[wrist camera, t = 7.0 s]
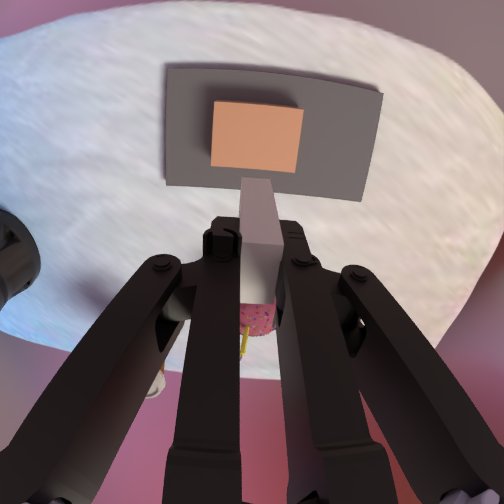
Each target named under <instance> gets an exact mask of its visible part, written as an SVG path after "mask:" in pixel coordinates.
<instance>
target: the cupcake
mask: <svg viewBox="0 0 504 504" xmlns="http://www.w3.org/2000/svg"><path fill="white" fill-rule="evenodd" d="M275 308H276V296H275V301H274V305H269V304H249V303H240V334H242V335H243V338H242V344H241V349H240V355H241V357H240V360H241V359H242V356H244V355H245V351H246V345H247V339H248V336H252V337H254V336H256V337H257V336H262V335H263V336H264V335H265V334H269V333H270V332H272V331H273V330H276V324H275V328H272V324H273V319H274V314H275Z"/></svg>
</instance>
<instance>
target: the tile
mask: <svg viewBox="0 0 504 504" xmlns="http://www.w3.org/2000/svg"><path fill="white" fill-rule="evenodd" d="M303 112H304V110H303V109H302V108H301V107H294V106H286V105H277V104H268V103H257V102H245V101H230V100H216V101H215V102H214V115H213V131H212V151H211V166H219V167H234V168H248V169H260V170H271V171H281V172H291V173H295V169H296V162H297V155H298V148H299V141H300V134H301V127H302V119H303Z"/></svg>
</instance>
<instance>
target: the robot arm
mask: <svg viewBox="0 0 504 504" xmlns="http://www.w3.org/2000/svg"><path fill="white" fill-rule="evenodd" d="M40 267H41V262H40V255H39V251H38V248H37V246H36V244H35V241H34V239H33V238H32V236H31V234H30V233H29V231H28V230H27V229H26V227H25V226H24V225H23V224H22V223H21V222H20V221H19V220H18V219H17V218H16V217H14V216H13V215H11V214H10V213H8V212H5V211H2V210H0V311H1V309H2V308H3V306H4V305H5V304H6V302H7V301H8V300H9V299H11V298H12V297H14V296H16V295H17V294H19V293H20V292H22V291H24V290H25V289H27V288H28V287H30V286H31V285H32V283H33V282H34V281H35V279H36V278H37V277H38V275H39V272H40ZM275 296H276V308H275V314H274V319H273V324H272V328H275V324H276V334H277V345H278V355H279V366H280V376H281V387H282V398H283V410H284V421H285V432H286V445H287V456H288V469H289V482H288V487H287V504H398V500H397V495H396V490H395V485H394V481H393V476H392V472H391V467H390V463H389V459H388V455H387V452H386V450H385V448H384V447H383V446H382V444H380V443H378V442H375V441H373V440H372V438H371V436H370V433H369V429H368V425H367V421H366V417H365V413H364V409H363V405H362V401H361V397H360V393H359V390H360V392H361V394H362V396H363V398H364V400H365V401H366V403H367V405H368V407H369V409H370V411H371V412H372V414H373V416H374V418H375V420H376V422H377V423H378V425H379V427H380V429H381V431H382V433H383V435H384V437H385V438H386V440H387V442H388V444H389V446H390V448H391V449H392V451H393V453H394V455H395V457H396V459H397V461H398V463H399V465H400V467H401V469H402V471H403V472H404V474H405V476H406V478H407V480H408V482H409V484H410V486H411V488H412V489H413V491H414V493H415V494H416V496H417V498H418V499H419V500H420V501H421V503H422V504H504V448H503V446H501V445H500V444H499V443H498V441H497V440H496V438H495V436H494V435H493V433H492V432H491V430H490V428H489V427H488V425H487V424H486V422H485V421H484V419H483V417H482V416H481V415H480V413H479V411H478V410H477V408H476V407H475V405H474V404H473V402H472V401H471V399H470V398H469V397H468V395H467V394H466V392H465V391H464V389H463V388H462V386H460V384H459V382H458V381H457V379H456V378H455V377H454V375H453V374H452V373H451V371H450V370H449V368H448V367H447V365H446V364H445V363H444V361H443V360H442V359H441V357H440V356H439V355H438V353H437V352H436V351H435V349H434V348H433V347H432V345H431V344H430V343H429V341H428V340H427V339H426V337H425V336H424V335H423V334H422V332H421V331H420V330H419V328H418V327H417V326H416V325H415V323H414V322H413V321H412V320H411V318H410V317H409V316H408V315H407V313H406V312H405V311H404V310H403V308H402V307H401V306H400V305H399V303H398V302H397V301H396V300H395V299H394V297H393V296H392V295H391V294H390V293H389V291H388V290H387V289H386V288H385V287H384V285H383V284H382V283H381V282H380V281H379V279H378V278H377V277H376V276H375V275H374V274H373V273H372V272H371V271H370V270H369V269H367V268H365V267H363V266H359V265H348V266H345V267H344V268H343V269H342V271H341V273H337V272H333V271H330V270H327V269H324V268H322V266H321V263H320V261H319V260H318V258H317V257H315V256H314V255H312V254H311V252H310V249H309V246H308V243H307V240H306V237H305V234H304V231H303V228H302V226H301V225H300V224H299V223H298V222H296V221H289V220H279V218H278V213H277V208H276V203H275V199H274V194H273V189H272V185H271V180H270V179H261V178H248V177H242V181H241V193H240V206H239V218H236V217H221V216H217V217H216V218H215V219H214V220H213V221H212V223H211V228H210V229H208V230H206V231H205V232H204V234H203V257H202V258H201V259H199V260H197V261H195V262H191V263H186V264H181V262H180V260H179V259H178V258H177V257H175V256H173V255H169V254H159V255H155V256H152V257H150V258H148V259H147V260H146V261H145V262H144V263H143V264H142V265H141V266H140V267H139V269H138V270H137V271H136V272H135V273H134V275H133V276H132V277H131V278H130V279H129V280H128V282H127V283H126V284H125V285H124V286H123V288H122V289H121V290H120V291H119V292H118V294H117V295H116V296H115V297H114V299H113V300H112V301H111V302H110V303H109V305H108V306H107V307H106V308H105V310H104V311H103V312H102V313H101V315H100V316H99V317H98V318H97V320H96V321H95V322H94V324H93V325H92V326H91V327H90V329H89V330H88V331H87V333H86V334H85V335H84V336H83V338H82V339H81V340H80V342H79V343H78V344H77V346H76V347H75V348H74V350H73V351H72V352H71V354H70V355H69V356H68V358H67V359H66V361H65V362H64V363H63V365H62V366H61V367H60V369H59V370H58V371H57V373H56V374H55V376H54V377H53V379H52V380H51V382H50V383H49V384H48V386H47V387H46V388H45V390H44V391H43V393H42V394H41V396H40V397H39V399H38V400H37V402H36V403H35V405H34V406H33V408H32V409H31V411H30V412H29V414H28V415H27V417H26V418H25V420H24V421H23V423H22V425H21V426H20V428H19V429H18V431H17V432H16V434H15V436H14V437H13V439H12V440H11V442H10V444H9V445H8V446H7V447H6V448H5V449H3V450H2V451H1V452H0V504H91V503H92V501H93V499H94V498H95V496H96V494H97V492H98V491H99V489H100V487H101V485H102V483H103V481H104V478H105V476H106V475H107V473H108V470H109V468H110V466H111V464H112V462H113V460H114V458H115V456H116V454H117V452H118V450H119V448H120V446H121V444H122V442H123V440H124V438H125V436H126V434H127V432H128V430H129V428H130V426H131V424H132V422H133V421H134V419H135V417H136V415H137V413H138V411H139V409H140V407H141V405H142V403H143V401H144V399H145V397H146V395H147V393H148V391H149V389H150V388H151V386H152V384H153V382H154V380H155V378H156V376H157V374H158V372H159V370H160V368H161V367H162V365H163V363H164V361H165V359H166V357H167V355H168V353H169V351H170V350H171V348H172V346H173V344H174V342H175V340H176V338H177V336H178V335H179V333H180V331H181V329H182V327H183V325H184V322H185V320H188V319H191V323H190V329H189V335H188V341H187V348H186V354H185V360H184V367H183V374H182V380H181V387H180V395H179V402H178V409H177V417H176V425H175V433H174V441H173V444H172V446H171V447H170V448H169V452H168V455H167V461H166V469H165V477H164V487H163V497H162V504H250V503H247V502H242V481H241V480H242V476H241V474H242V472H241V453H240V443H239V442H240V441H239V440H240V438H239V437H240V436H239V434H240V432H239V431H240V428H239V427H240V426H239V425H240V424H239V422H240V418H239V416H240V415H239V414H240V413H239V412H240V410H239V405H240V403H239V402H240V400H239V398H240V397H239V396H240V394H239V393H240V387H239V386H240V381H239V380H240V303H249V304H269V305H274V301H275ZM361 319H362V321H363V322H364V324H365V326H364V325H363V324H362V323H361V321H360V320H361Z"/></svg>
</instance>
